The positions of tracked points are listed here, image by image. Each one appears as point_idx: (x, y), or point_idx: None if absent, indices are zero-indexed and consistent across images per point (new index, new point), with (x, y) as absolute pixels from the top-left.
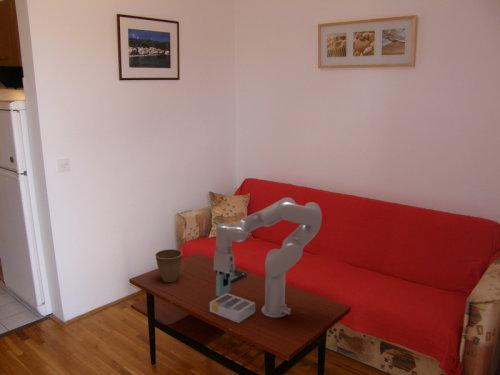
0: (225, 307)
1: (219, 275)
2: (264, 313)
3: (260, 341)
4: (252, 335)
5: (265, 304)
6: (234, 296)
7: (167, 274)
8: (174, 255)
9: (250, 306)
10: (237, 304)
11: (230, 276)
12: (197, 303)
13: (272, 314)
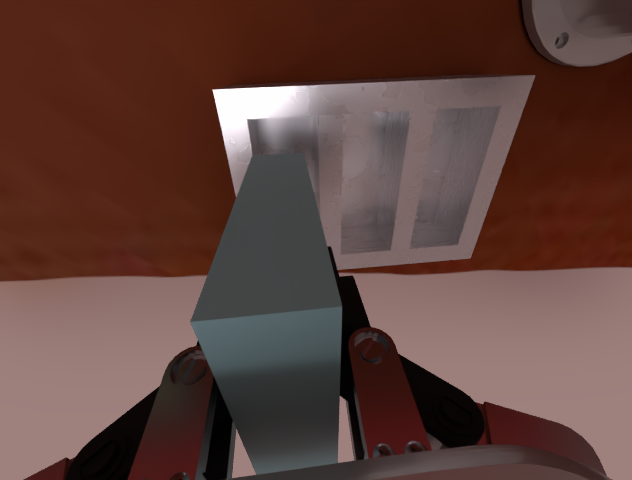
0: (371, 261)
1: (286, 465)
2: (563, 63)
3: (568, 263)
4: (529, 255)
5: (621, 12)
6: (320, 101)
7: None
8: None
9: (507, 145)
10: (415, 190)
11: (324, 237)
12: (132, 228)
13: (628, 39)
